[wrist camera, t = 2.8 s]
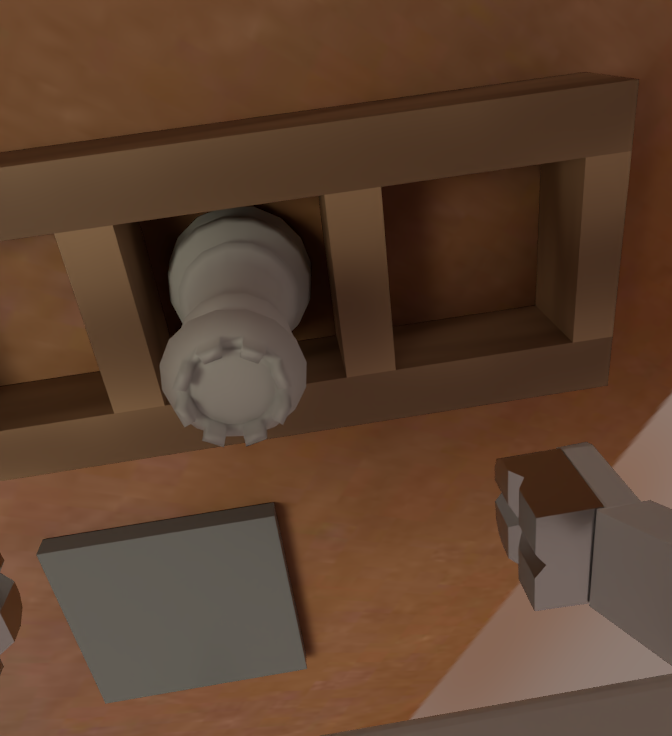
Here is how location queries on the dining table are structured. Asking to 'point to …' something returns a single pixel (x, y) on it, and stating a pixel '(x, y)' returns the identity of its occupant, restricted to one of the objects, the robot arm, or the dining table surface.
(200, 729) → the dining table surface
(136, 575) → the coaster
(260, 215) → the rook chess piece
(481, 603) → the dining table surface
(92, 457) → the three-compartment wooden tray
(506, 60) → the dining table surface
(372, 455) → the dining table surface
